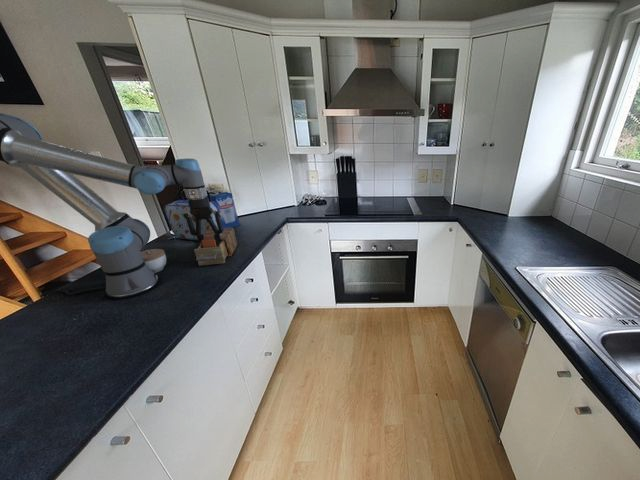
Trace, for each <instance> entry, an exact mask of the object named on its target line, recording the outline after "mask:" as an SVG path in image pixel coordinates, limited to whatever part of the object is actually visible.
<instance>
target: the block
mask: <svg viewBox="0 0 640 480" xmlns="http://www.w3.org/2000/svg"><path fill="white" fill-rule="evenodd" d="M201 242H202V245H203V248H209V247H217V245H216V242H215V238H214V236H212V237H204V239H203V240H202V241H201Z"/></svg>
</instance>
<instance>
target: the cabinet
mask: <svg viewBox="0 0 640 480" xmlns="http://www.w3.org/2000/svg"><path fill="white" fill-rule="evenodd" d="M223 230H224V231H223V232H222V233H220V237H221V240H225V241H226V245H227V249H228V255H227V256H226V258H227V257H232V256H233V254H234V252H235V250H236V248H237V247H238V242H237V238H236V237H237V236H236V233H235V229H234V227H231V228H223ZM214 234H215V233H214V231H213V230H212V229H208V230H207V231H206V232H205V233H204V235H203V236H204V237H212V236H214ZM200 244H201V243H199V245H200Z"/></svg>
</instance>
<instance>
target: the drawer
mask: <svg viewBox="0 0 640 480" xmlns="http://www.w3.org/2000/svg"><path fill="white" fill-rule="evenodd" d="M219 242H220V244H219V247H209V248H203V247H202V244H200V243H199V246H198V247H197V248H194V249H193V251H194V255H195V257H196V258H195V260H196V262H197V263H198V266H199V267H200V266H208V265H218V264H219V265H220V264H225V263H226V258H227V257H226V256H227V255H228V249H227V245H226V241H225V240H221V241H219Z"/></svg>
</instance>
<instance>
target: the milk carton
mask: <svg viewBox="0 0 640 480" xmlns="http://www.w3.org/2000/svg"><path fill="white" fill-rule="evenodd" d="M208 196H209V199H210V202H213V203H215V204H216V205H217V206H218V207H219V210H220V212H221V213H222V215H223V217H222V223H223V227H224V228H234V227H237V226H240V222H239V218H238V213H237V210H236V204H235V200H234V197H233V193H232V192H228V191H223V192H218V193H213V194H209V195H208Z"/></svg>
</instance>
